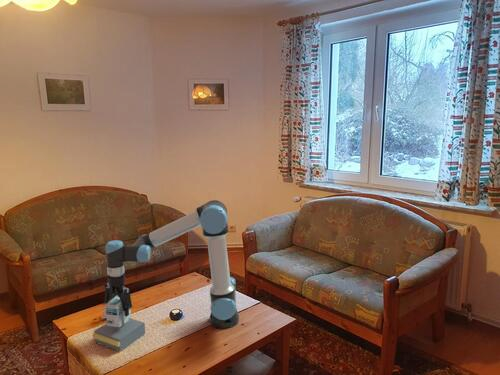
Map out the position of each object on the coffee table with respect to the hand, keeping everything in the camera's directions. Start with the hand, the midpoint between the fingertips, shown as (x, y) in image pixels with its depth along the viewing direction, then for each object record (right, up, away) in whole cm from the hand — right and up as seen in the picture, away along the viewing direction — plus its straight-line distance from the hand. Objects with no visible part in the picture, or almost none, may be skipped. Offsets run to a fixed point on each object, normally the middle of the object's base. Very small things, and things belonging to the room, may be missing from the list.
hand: (119, 319), depth 178 cm
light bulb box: (0, -1, 0) cm, 1 cm away
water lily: (-10, -6, +22) cm, 25 cm away
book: (0, -9, +2) cm, 9 cm away
